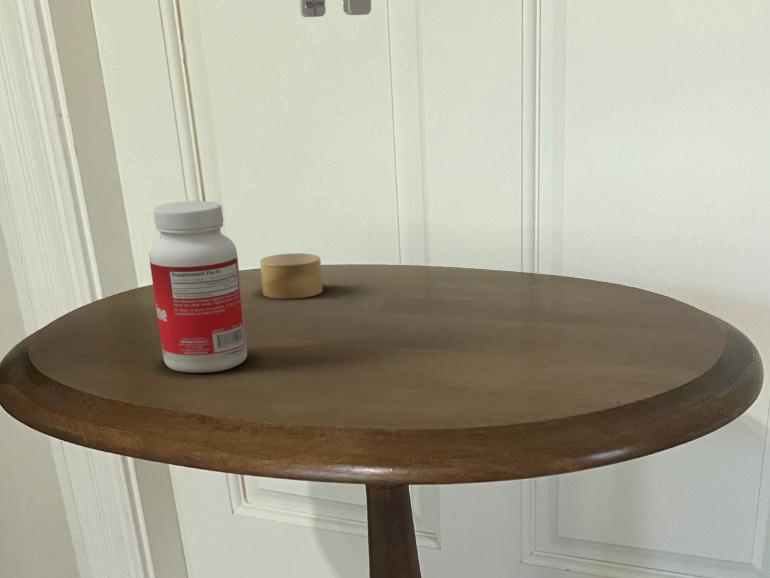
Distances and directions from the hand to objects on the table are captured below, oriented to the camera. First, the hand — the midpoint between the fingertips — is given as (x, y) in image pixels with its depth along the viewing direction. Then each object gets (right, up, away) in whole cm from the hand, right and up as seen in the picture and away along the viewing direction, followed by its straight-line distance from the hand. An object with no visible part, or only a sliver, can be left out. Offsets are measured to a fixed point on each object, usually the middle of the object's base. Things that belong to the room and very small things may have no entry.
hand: (334, 16), depth 89 cm
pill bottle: (-9, -31, -9) cm, 33 cm away
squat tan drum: (-5, -20, +11) cm, 23 cm away
